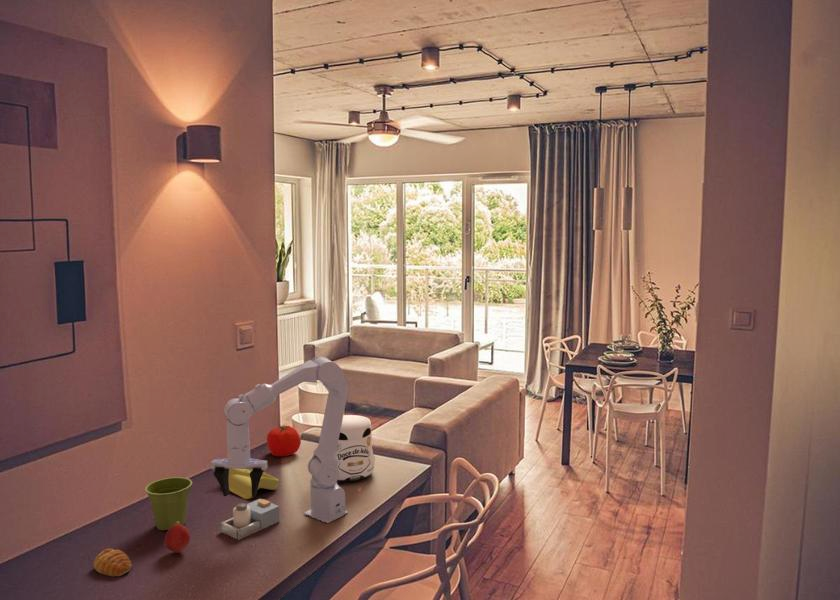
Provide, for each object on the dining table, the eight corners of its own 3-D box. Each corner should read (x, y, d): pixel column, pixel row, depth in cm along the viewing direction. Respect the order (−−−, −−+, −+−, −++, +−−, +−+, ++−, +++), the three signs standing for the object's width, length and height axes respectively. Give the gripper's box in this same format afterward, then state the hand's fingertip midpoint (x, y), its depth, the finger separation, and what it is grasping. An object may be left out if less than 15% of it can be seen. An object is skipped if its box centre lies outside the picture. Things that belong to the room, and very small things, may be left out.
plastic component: (282, 481, 195) (258, 476, 187) (273, 504, 193) (249, 501, 185) (242, 462, 207) (219, 457, 199) (234, 484, 205) (209, 480, 197)
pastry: (140, 569, 149) (139, 553, 149) (113, 582, 143) (112, 566, 143) (116, 558, 154) (115, 543, 154) (89, 570, 148) (88, 555, 148)
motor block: (279, 521, 172) (278, 503, 172) (261, 530, 167) (260, 511, 167) (260, 513, 177) (260, 495, 176) (242, 521, 172) (242, 503, 172)
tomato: (275, 447, 231) (275, 420, 230) (306, 451, 227) (306, 423, 226) (258, 458, 221) (257, 429, 220) (290, 462, 217) (290, 433, 216)
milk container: (354, 490, 193) (353, 433, 191) (310, 479, 201) (308, 424, 199) (385, 471, 208) (384, 418, 206) (342, 462, 216) (341, 411, 214)
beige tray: (262, 529, 168) (262, 520, 168) (238, 540, 162) (238, 531, 162) (244, 521, 173) (244, 512, 172) (220, 531, 167) (220, 522, 166)
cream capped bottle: (253, 526, 170) (252, 502, 169) (247, 534, 165) (246, 509, 164) (237, 525, 170) (236, 501, 169) (231, 533, 166) (230, 509, 165)
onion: (164, 560, 152) (162, 528, 152) (166, 548, 158) (165, 518, 157) (189, 556, 154) (188, 525, 153) (191, 545, 160) (190, 515, 159)
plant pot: (203, 518, 175) (201, 478, 173) (175, 538, 163) (173, 496, 162) (166, 513, 178) (164, 474, 177) (137, 532, 167) (134, 491, 165)
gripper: (270, 440, 168) (271, 489, 170) (217, 439, 169) (219, 488, 171) (262, 449, 161) (263, 500, 163) (206, 448, 162) (208, 499, 164)
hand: (240, 495), depth 166 cm, fingers open, 7 cm apart
